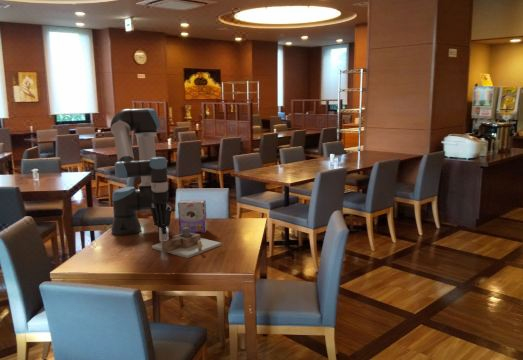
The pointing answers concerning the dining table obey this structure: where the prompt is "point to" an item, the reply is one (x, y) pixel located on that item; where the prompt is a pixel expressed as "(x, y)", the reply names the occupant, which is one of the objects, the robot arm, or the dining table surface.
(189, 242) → the wooden frame with handle
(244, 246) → the dining table surface
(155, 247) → the post board
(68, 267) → the dining table surface
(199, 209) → the candy box
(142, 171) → the robot arm
